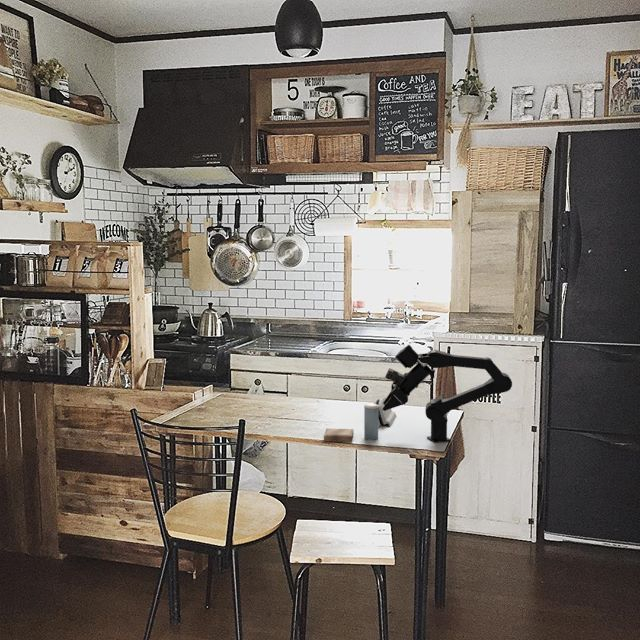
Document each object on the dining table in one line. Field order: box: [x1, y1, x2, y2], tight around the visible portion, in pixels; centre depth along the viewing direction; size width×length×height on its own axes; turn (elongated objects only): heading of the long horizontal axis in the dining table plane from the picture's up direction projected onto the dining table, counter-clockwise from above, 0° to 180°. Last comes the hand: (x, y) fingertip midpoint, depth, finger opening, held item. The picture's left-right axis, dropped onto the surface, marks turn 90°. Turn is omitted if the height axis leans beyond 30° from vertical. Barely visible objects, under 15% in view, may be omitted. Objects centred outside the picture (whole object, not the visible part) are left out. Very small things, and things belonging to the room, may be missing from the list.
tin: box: [363, 403, 379, 441], centre depth 279 cm, size 5×5×12 cm
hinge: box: [373, 397, 397, 427], centre depth 304 cm, size 17×5×10 cm, turn 166°
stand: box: [323, 428, 354, 443], centre depth 280 cm, size 10×10×2 cm
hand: (383, 407), depth 278 cm, fingers open, 9 cm apart
